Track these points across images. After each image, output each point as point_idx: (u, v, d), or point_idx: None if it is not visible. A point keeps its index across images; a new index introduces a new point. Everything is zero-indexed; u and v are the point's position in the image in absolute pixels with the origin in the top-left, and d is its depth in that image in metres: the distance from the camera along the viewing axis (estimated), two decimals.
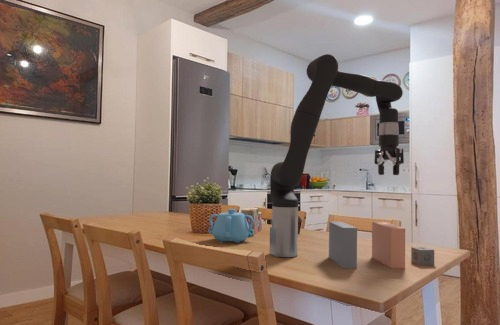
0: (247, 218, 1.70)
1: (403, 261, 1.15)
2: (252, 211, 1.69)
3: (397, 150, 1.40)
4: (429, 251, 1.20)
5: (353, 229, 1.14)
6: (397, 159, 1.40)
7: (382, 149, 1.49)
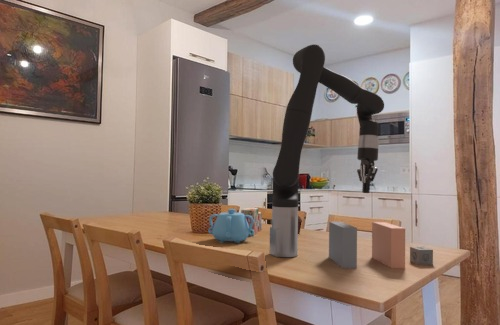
0: (247, 218, 1.70)
1: (403, 261, 1.15)
2: (252, 211, 1.69)
3: None
4: (428, 251, 1.20)
5: (353, 229, 1.14)
6: None
7: None
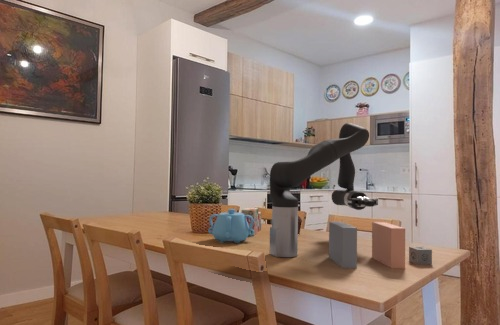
0: (247, 218, 1.70)
1: (403, 261, 1.15)
2: (252, 211, 1.70)
3: (349, 204, 1.45)
4: (427, 251, 1.20)
5: (353, 229, 1.14)
6: None
7: None
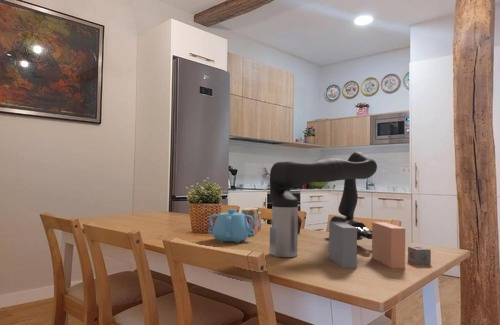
0: (248, 218, 1.70)
1: (403, 261, 1.15)
2: (253, 211, 1.70)
3: None
4: (425, 251, 1.20)
5: (353, 229, 1.14)
6: None
7: None
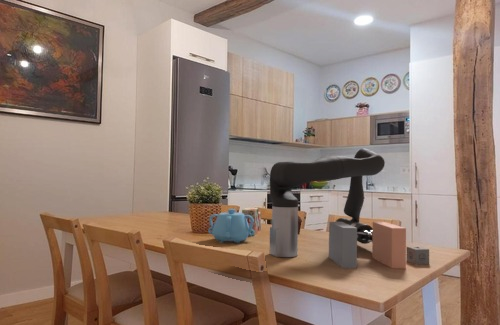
0: (248, 218, 1.70)
1: (404, 261, 1.15)
2: (253, 211, 1.70)
3: None
4: (424, 250, 1.21)
5: (353, 229, 1.14)
6: None
7: None
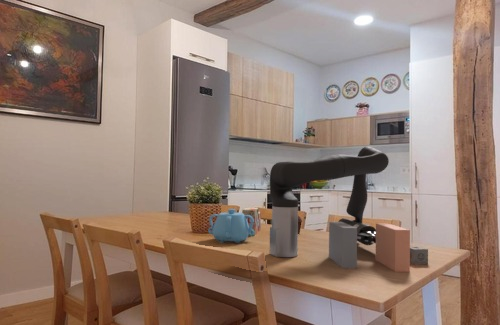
0: (248, 218, 1.70)
1: (408, 264, 1.11)
2: (253, 211, 1.70)
3: (358, 240, 1.34)
4: (423, 250, 1.21)
5: (353, 229, 1.14)
6: None
7: None
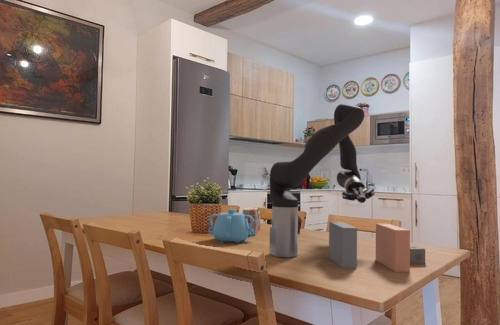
0: (249, 218, 1.71)
1: (408, 264, 1.11)
2: (254, 211, 1.71)
3: (344, 198, 1.45)
4: (420, 250, 1.21)
5: (353, 229, 1.14)
6: None
7: None
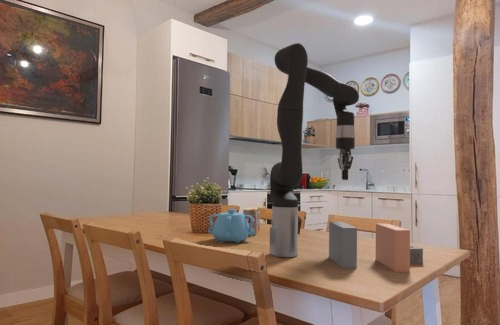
0: (249, 218, 1.71)
1: (408, 264, 1.11)
2: (254, 211, 1.71)
3: None
4: (418, 250, 1.22)
5: (353, 229, 1.14)
6: None
7: None
